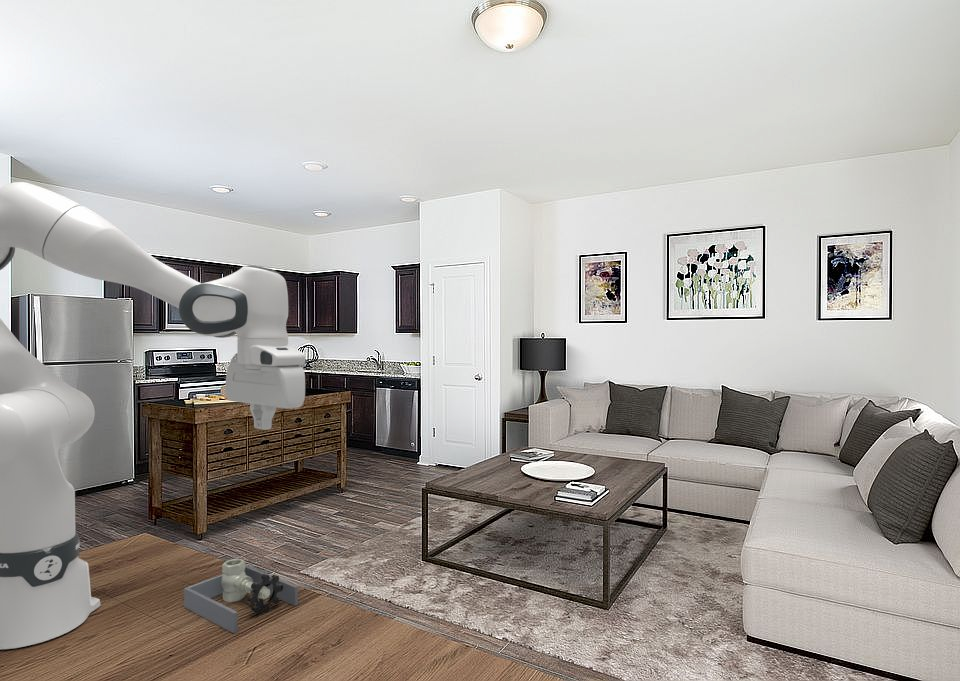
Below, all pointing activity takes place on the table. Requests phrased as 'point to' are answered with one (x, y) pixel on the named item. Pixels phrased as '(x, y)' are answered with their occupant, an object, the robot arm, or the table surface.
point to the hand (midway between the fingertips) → (262, 428)
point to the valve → (248, 586)
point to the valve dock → (223, 615)
